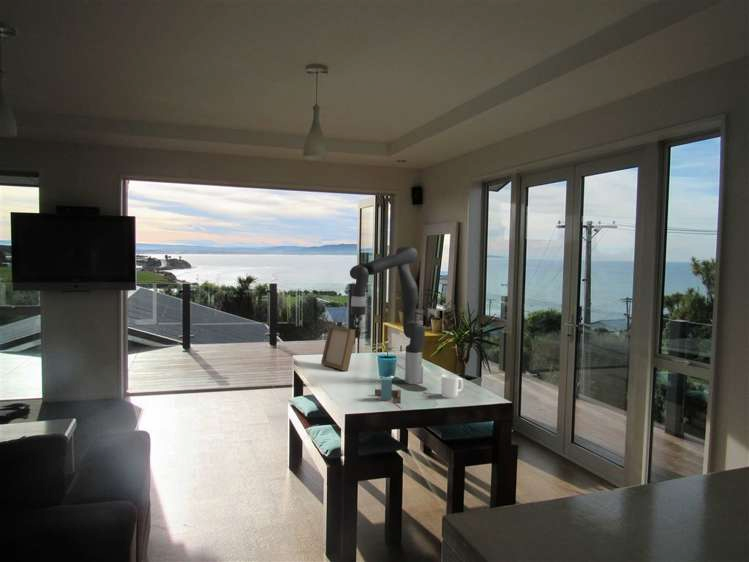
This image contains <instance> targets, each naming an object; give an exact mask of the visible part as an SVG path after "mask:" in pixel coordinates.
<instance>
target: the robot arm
mask: <svg viewBox="0 0 749 562" xmlns="http://www.w3.org/2000/svg"><path fill="white" fill-rule="evenodd" d="M418 253H419V252H418V251H417V249H416V248H415V247H413V246H407V245H406V246H399V247H398V248H397V249H396V251H395V254H393V255H389V256H384V257H383V256H382V257H379V258H376V259H374V260H372V261H369V262H365V263H361V264H357V265H354V266H352V267H351V269H350V270H349V276H350V277H351V278H352V279H353V280H355V284H353V285H352V286H351V301H350V302H351V303H350V314H351V315H352V316H355V317H354V318H353V321H354V323H353V326H354V328H353V330H355V339H358V338H360V336H361V331H362V330H361V329H362V326H363V325H362V324H363V317H362V316H365V315H366V311H367V310H366V309H367V306H366V305H367V299H366V298H367V297H366V296H367V295H366V294H367V292H366V288H367V284H368V282H369V276H372V275H373V276H374V275H377V274H379V273H382V272H385V271H387V270H390V269H392V268H396V267H397V270H398V278H399V286H400V296H401V297H400V298H401V305H402V306H401V307H402V321H403V322H402V326H403V327H402V328H403V334H404V336H405V337H406V338H408V339H410V340H409V344H408V345H406V346H405V356H404V357H405V358H404V359H405V361H404V383H405V384H410V385H419V384H423V383H424V382H423V381H424V378H423V377H424V365H423V349H424V346H425V335H426V331H425V327H424V325H423V324H421V323H419V322H416V321H417V320H416V315H415V313H416V308H417V304H418V302H419V291H418V290H419V289H418V285H417V282H416V281H415V279H414V276H413V275H412V273H411V269H410V264H413V263H414V262H416V261H417V259H418Z"/></svg>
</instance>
